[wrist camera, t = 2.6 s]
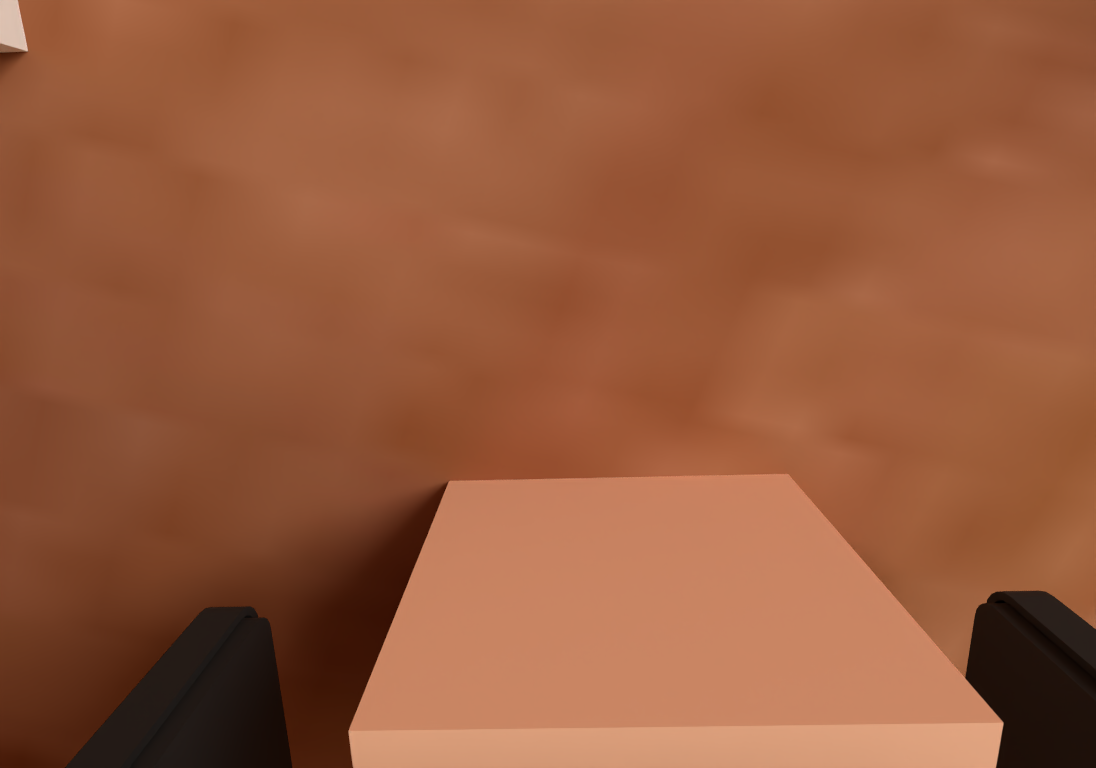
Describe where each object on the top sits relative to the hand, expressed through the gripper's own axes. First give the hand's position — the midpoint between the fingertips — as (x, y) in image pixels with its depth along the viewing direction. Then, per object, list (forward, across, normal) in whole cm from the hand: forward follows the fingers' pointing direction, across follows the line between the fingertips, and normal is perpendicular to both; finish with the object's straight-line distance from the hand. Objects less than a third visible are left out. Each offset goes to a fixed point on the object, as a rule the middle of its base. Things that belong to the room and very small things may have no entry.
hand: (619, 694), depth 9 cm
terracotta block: (+2, 0, 0) cm, 2 cm away
